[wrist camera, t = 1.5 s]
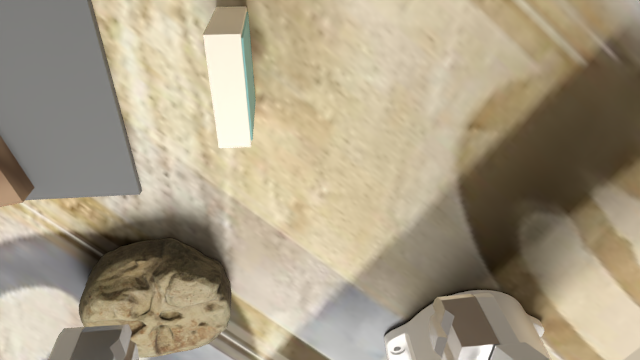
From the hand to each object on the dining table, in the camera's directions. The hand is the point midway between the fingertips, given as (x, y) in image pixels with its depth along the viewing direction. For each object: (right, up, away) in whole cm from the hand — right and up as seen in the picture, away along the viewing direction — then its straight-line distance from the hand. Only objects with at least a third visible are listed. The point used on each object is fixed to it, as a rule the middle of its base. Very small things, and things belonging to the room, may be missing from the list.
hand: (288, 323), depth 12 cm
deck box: (-5, +13, +20) cm, 24 cm away
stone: (-14, -6, +31) cm, 35 cm away
